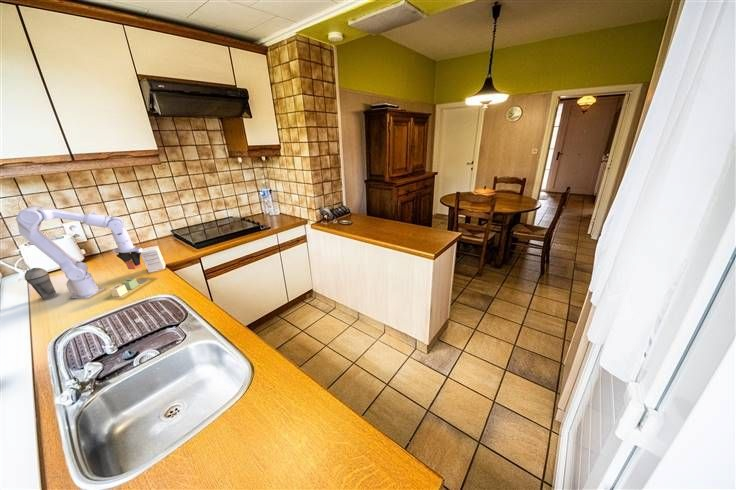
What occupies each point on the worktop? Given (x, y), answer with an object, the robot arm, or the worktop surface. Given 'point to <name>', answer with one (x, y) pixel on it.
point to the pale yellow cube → (118, 290)
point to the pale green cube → (130, 283)
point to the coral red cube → (132, 265)
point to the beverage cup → (40, 282)
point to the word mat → (138, 283)
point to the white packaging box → (153, 259)
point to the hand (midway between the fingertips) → (134, 265)
